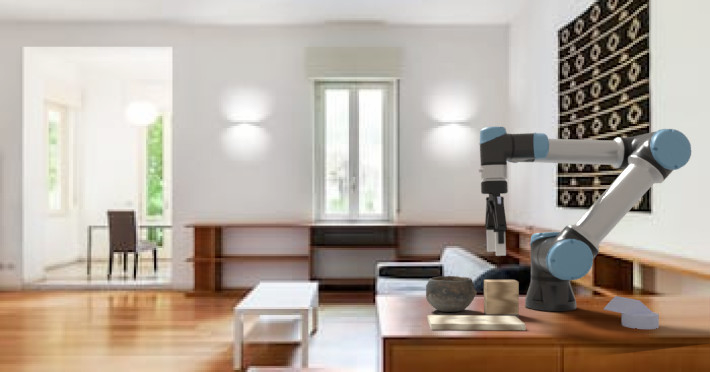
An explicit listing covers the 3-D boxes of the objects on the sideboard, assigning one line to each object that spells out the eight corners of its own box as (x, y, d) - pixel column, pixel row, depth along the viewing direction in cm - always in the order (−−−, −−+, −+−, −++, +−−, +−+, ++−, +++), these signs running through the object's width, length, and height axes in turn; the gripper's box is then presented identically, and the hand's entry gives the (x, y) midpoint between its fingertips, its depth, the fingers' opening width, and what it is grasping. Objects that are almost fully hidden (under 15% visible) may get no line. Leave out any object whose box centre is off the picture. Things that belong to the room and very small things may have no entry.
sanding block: (514, 314, 184) (514, 279, 184) (518, 317, 179) (518, 282, 179) (483, 313, 184) (483, 279, 184) (487, 317, 179) (486, 281, 179)
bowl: (484, 311, 188) (484, 277, 188) (453, 317, 177) (453, 282, 178) (446, 305, 198) (446, 273, 198) (415, 311, 187) (415, 278, 187)
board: (515, 321, 172) (515, 315, 172) (525, 330, 160) (525, 324, 160) (427, 320, 173) (427, 315, 173) (431, 329, 161) (431, 323, 161)
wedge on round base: (603, 321, 173) (640, 330, 160) (602, 296, 173) (640, 304, 161) (628, 319, 176) (666, 327, 164) (628, 295, 176) (666, 302, 164)
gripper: (474, 181, 195) (476, 250, 194) (488, 179, 170) (490, 257, 169) (498, 181, 195) (500, 249, 194) (516, 178, 170) (518, 257, 169)
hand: (496, 253), depth 182 cm, fingers open, 13 cm apart
